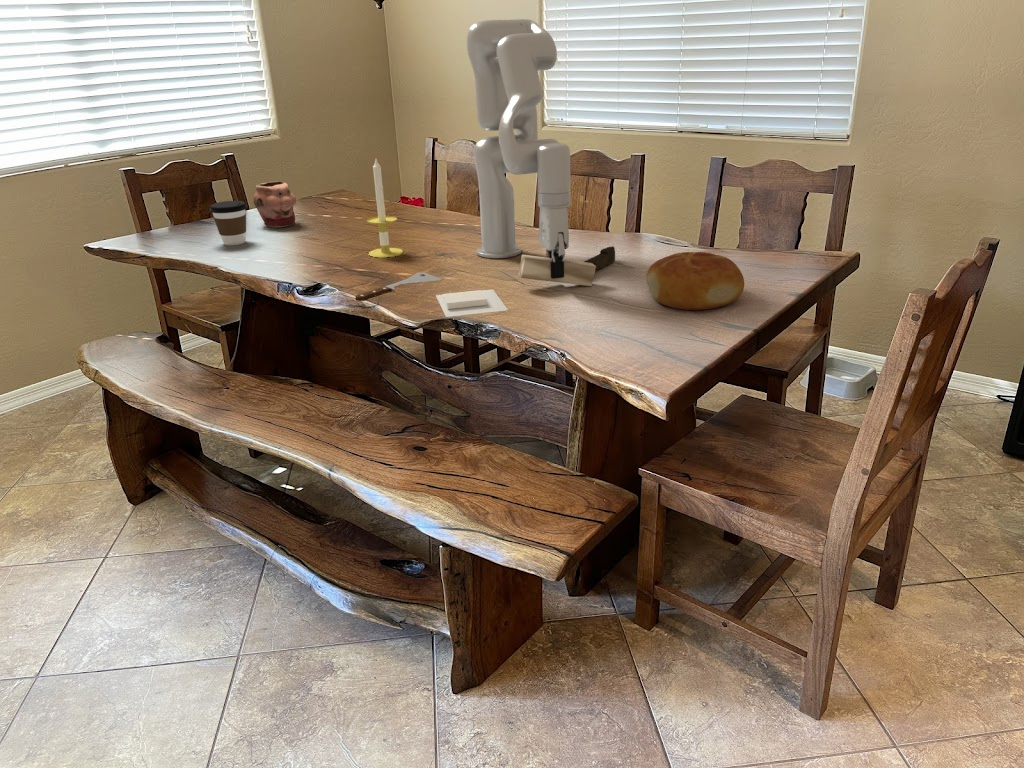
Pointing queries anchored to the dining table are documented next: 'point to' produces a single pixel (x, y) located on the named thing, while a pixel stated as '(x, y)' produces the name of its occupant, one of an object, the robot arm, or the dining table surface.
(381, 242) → the candle
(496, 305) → the mat
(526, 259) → the beige long bar
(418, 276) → the kitchen cleaver
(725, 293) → the bread
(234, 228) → the coffee cup
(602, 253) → the rusty brown spike
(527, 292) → the dining table surface
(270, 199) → the decorative planter
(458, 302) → the tile
